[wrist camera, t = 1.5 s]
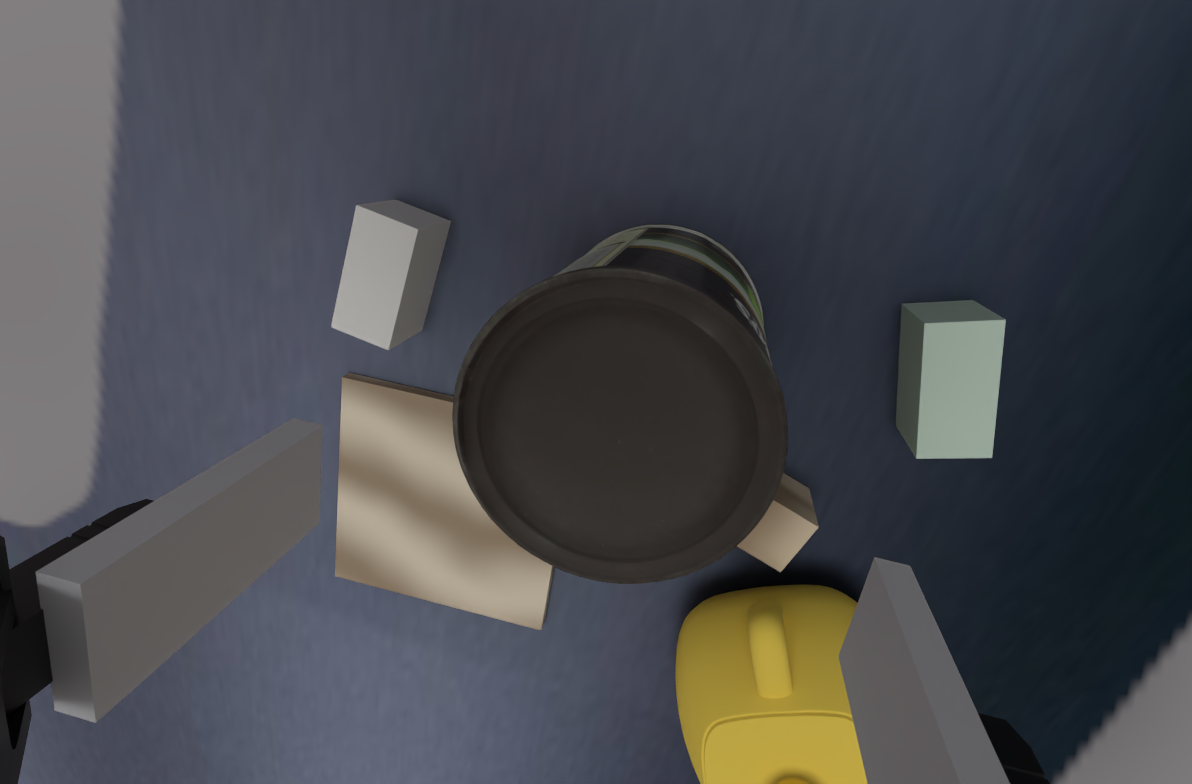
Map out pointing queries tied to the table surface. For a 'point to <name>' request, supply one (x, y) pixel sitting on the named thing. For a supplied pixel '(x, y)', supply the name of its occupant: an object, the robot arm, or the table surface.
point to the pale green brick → (949, 378)
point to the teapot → (768, 687)
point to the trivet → (423, 510)
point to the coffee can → (626, 410)
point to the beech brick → (783, 525)
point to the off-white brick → (389, 272)
